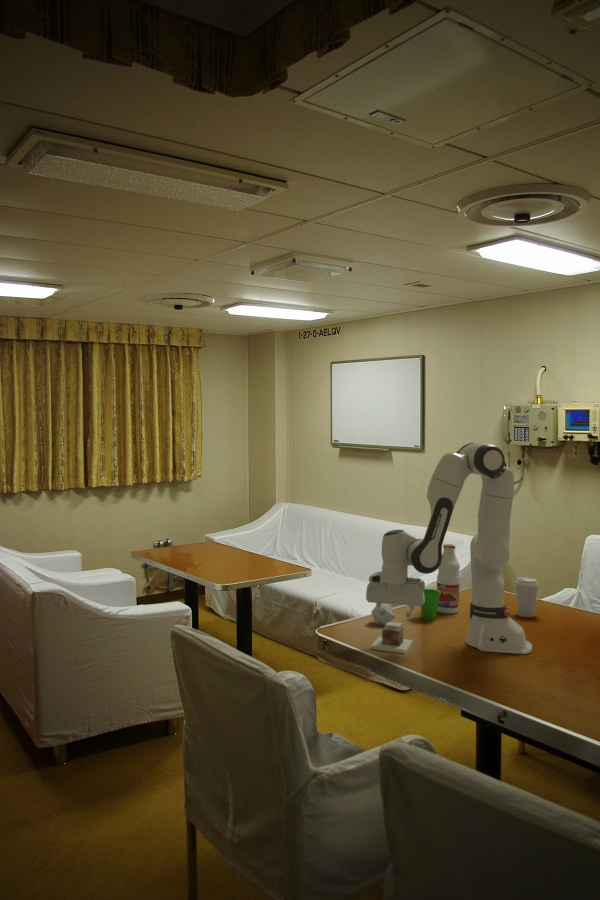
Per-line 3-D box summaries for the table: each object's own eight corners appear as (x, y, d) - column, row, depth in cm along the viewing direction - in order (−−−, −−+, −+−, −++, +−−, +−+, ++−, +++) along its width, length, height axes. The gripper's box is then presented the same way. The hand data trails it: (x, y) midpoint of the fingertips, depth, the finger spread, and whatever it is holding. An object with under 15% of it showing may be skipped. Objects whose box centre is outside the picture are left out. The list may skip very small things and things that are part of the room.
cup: (423, 614, 278) (424, 587, 278) (444, 618, 272) (444, 591, 272) (413, 618, 270) (414, 591, 270) (434, 622, 265) (435, 595, 265)
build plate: (412, 643, 238) (413, 639, 238) (405, 653, 226) (405, 649, 226) (379, 639, 242) (379, 635, 242) (371, 648, 231) (371, 644, 231)
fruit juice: (463, 611, 284) (465, 545, 283) (451, 615, 277) (452, 547, 276) (443, 607, 290) (445, 542, 290) (431, 610, 284) (433, 544, 283)
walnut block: (403, 641, 236) (403, 627, 236) (399, 646, 230) (399, 631, 230) (386, 639, 238) (386, 624, 238) (382, 643, 232) (382, 629, 232)
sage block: (401, 636, 246) (402, 623, 246) (398, 640, 241) (399, 626, 241) (388, 635, 247) (388, 621, 247) (385, 638, 243) (385, 625, 243)
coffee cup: (511, 611, 285) (513, 576, 285) (535, 612, 284) (536, 577, 284) (516, 617, 276) (517, 581, 275) (540, 618, 274) (541, 582, 274)
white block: (380, 629, 256) (396, 609, 256) (364, 615, 260) (379, 595, 261) (386, 632, 263) (401, 612, 263) (370, 618, 267) (385, 599, 268)
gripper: (426, 576, 233) (427, 616, 233) (369, 573, 240) (369, 612, 241) (422, 580, 227) (423, 621, 227) (364, 577, 235) (365, 616, 235)
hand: (395, 616), depth 234 cm, fingers open, 8 cm apart
